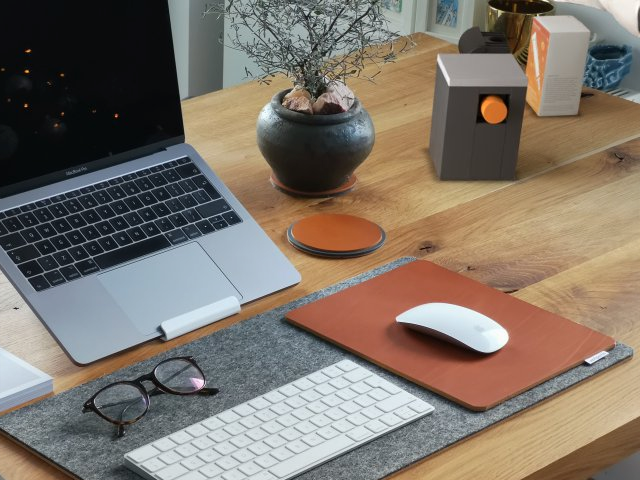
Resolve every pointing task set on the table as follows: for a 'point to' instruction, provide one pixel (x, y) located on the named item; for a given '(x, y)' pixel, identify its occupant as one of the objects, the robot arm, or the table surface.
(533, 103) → the small box
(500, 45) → the end cap
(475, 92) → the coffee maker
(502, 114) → the power button
